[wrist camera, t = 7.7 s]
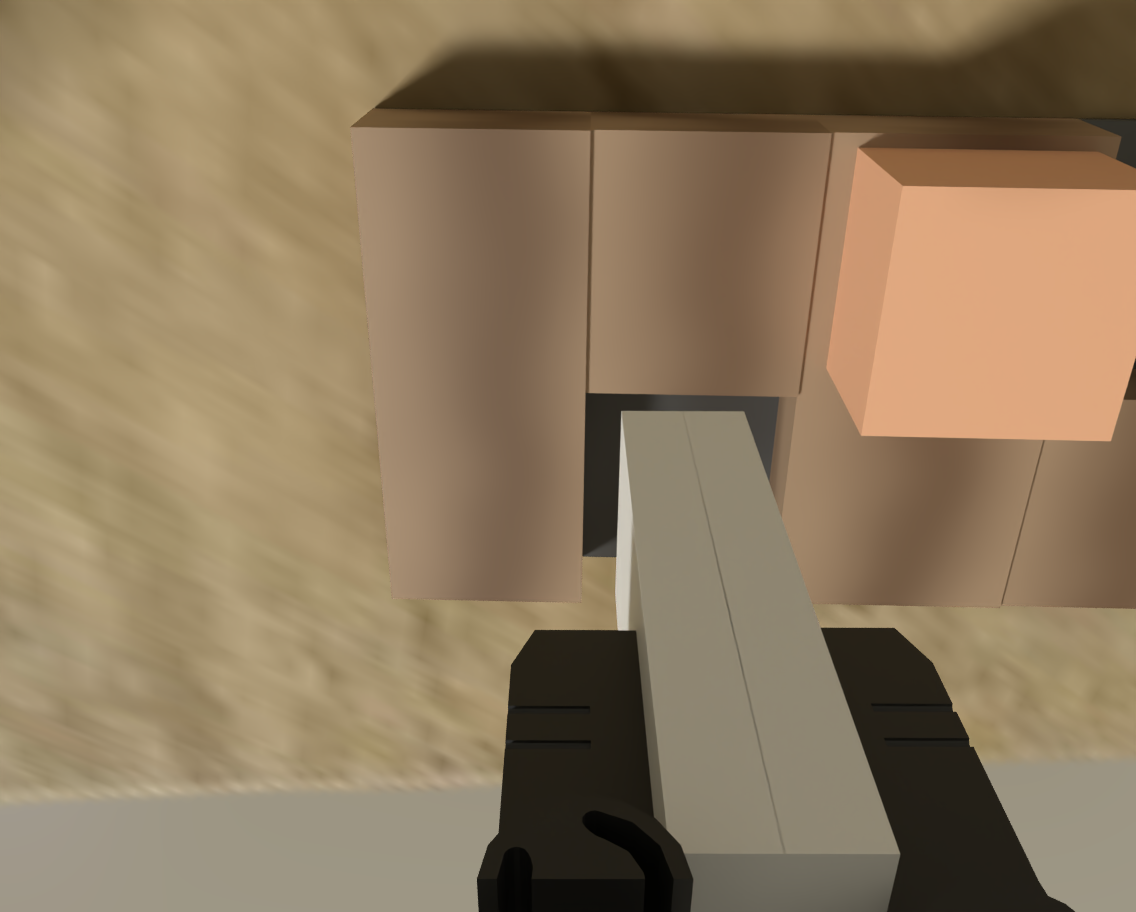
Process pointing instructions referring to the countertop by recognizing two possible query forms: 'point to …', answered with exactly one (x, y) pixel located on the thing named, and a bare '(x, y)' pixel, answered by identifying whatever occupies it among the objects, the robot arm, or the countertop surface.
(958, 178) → the block
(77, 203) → the countertop surface
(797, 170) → the board
